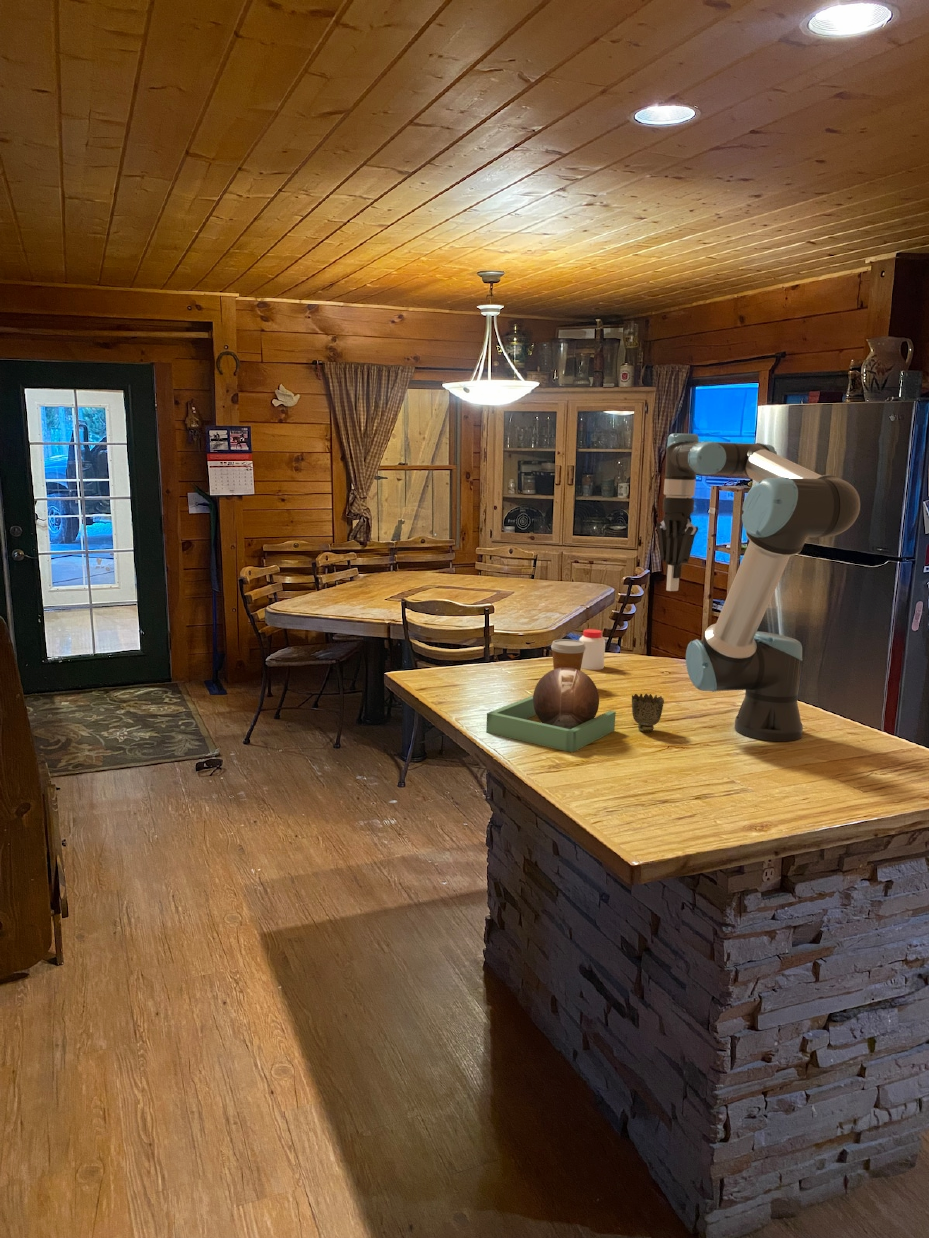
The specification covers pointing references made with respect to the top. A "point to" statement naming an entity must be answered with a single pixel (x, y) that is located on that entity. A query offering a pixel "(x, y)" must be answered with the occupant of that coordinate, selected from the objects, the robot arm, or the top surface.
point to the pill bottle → (593, 649)
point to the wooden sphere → (565, 698)
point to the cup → (647, 711)
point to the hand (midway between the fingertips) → (672, 590)
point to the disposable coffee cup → (567, 653)
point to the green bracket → (546, 727)
